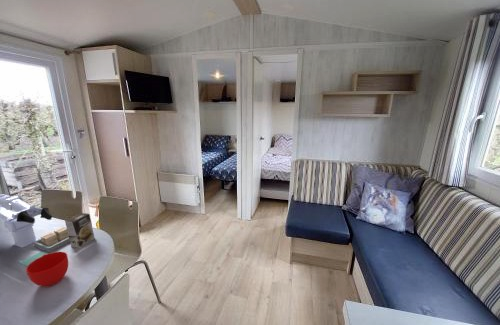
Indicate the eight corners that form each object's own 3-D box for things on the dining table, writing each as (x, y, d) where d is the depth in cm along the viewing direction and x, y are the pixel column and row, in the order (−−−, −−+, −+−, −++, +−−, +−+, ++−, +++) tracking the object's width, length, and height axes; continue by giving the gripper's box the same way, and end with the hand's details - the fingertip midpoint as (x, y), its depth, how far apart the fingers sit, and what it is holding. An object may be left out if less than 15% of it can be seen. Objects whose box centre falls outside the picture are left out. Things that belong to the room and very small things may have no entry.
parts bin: (34, 247, 116) (33, 242, 115) (63, 233, 128) (62, 228, 128) (50, 253, 111) (48, 248, 110) (79, 237, 124) (78, 233, 123)
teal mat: (18, 263, 104) (18, 262, 104) (41, 251, 112) (41, 251, 112) (29, 268, 101) (29, 267, 101) (52, 256, 109) (51, 255, 109)
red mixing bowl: (66, 261, 105) (61, 244, 102) (75, 279, 94) (70, 260, 92) (29, 277, 95) (22, 259, 93) (35, 298, 85) (28, 278, 82)
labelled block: (43, 246, 116) (40, 236, 114) (53, 241, 120) (50, 232, 118) (48, 248, 114) (45, 238, 112) (58, 243, 118) (55, 233, 117)
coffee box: (80, 248, 114) (73, 222, 110) (70, 247, 116) (63, 220, 111) (95, 238, 123) (89, 213, 119) (86, 237, 124) (80, 212, 120)
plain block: (56, 240, 121) (53, 230, 119) (65, 235, 125) (63, 226, 124) (61, 241, 119) (58, 232, 118) (70, 237, 124) (68, 228, 122)
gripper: (8, 204, 105) (27, 215, 102) (42, 200, 119) (60, 209, 116) (4, 217, 105) (22, 228, 102) (38, 212, 119) (56, 221, 116)
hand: (42, 219), depth 109 cm, fingers open, 7 cm apart
